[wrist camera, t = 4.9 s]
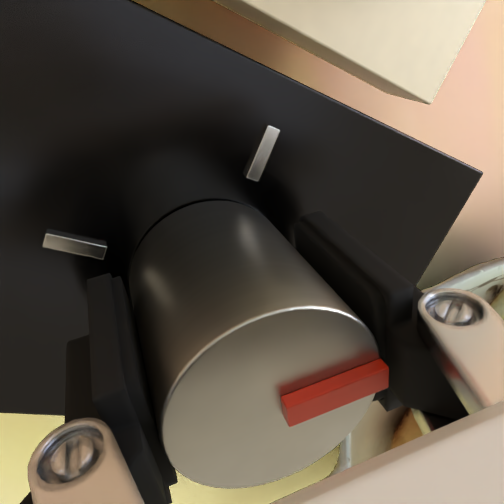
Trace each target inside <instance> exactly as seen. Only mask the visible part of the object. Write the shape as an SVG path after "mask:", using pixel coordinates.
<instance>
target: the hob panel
mask: <svg viewBox="0 0 504 504" xmlns="http://www.w3.org/2000/svg"><path fill="white" fill-rule="evenodd" d="M482 175H483V172H482V171H480V170H478V169H476V168H474V167H472V166H470V165H468V164H466V163H464V162H462V161H460V160H458V159H456V158H454V157H451V156H449V155H447V154H445V153H443V152H441V151H439V150H437V149H435V148H433V147H431V146H429V145H427V144H425V143H423V142H421V141H419V140H417V139H415V138H413V137H410V136H408V135H406V134H404V133H402V132H400V131H398V130H396V129H394V128H392V127H390V126H388V125H386V124H384V123H382V122H380V121H378V120H376V119H374V118H372V117H370V116H367V115H365V114H363V113H361V112H359V111H357V110H355V109H353V108H351V107H349V106H347V105H345V104H343V103H341V102H339V101H337V100H335V99H333V98H331V97H329V96H326V95H324V94H322V93H320V92H318V91H316V90H314V89H312V88H310V87H308V86H306V85H304V84H302V83H300V82H298V81H296V80H294V79H292V78H290V77H288V76H286V75H283V74H281V73H279V72H277V71H275V70H273V69H271V68H269V67H267V66H265V65H263V64H261V63H259V62H257V61H255V60H253V59H251V58H249V57H247V56H245V55H243V54H240V53H238V52H236V51H234V50H232V49H230V48H228V47H226V46H224V45H222V44H220V43H218V42H216V41H214V40H212V39H210V38H208V37H206V36H204V35H202V34H199V33H197V32H195V31H193V30H191V29H189V28H187V27H185V26H183V25H181V24H179V23H177V22H175V21H173V20H171V19H169V18H167V17H165V16H163V15H161V14H159V13H156V12H154V11H152V10H150V9H148V8H146V7H144V6H142V5H140V4H138V3H136V2H134V1H132V0H0V413H19V414H41V415H63V416H65V388H66V347H67V343H68V341H71V340H74V339H77V338H80V337H83V336H86V335H89V322H88V300H87V280H88V279H91V278H94V277H98V276H101V275H104V274H108V273H110V274H111V276H112V278H115V277H118V276H120V277H121V279H122V281H123V284H124V287H125V290H126V292H127V295H128V298H129V301H130V304H131V306H132V309H133V312H134V308H133V303H132V298H131V293H130V285H129V276H130V269H131V264H132V261H133V258H134V255H135V253H136V251H137V249H138V247H139V245H140V243H141V242H142V241H143V239H144V238H145V236H146V235H147V234H148V233H149V232H150V231H151V230H152V229H153V227H154V226H155V225H157V224H158V223H159V222H160V221H162V220H163V219H164V218H165V217H167V216H169V215H170V214H172V213H173V212H175V211H177V210H180V209H182V208H184V207H187V206H190V205H193V204H196V203H201V202H206V201H230V202H235V203H240V204H243V205H246V206H248V207H250V208H252V209H254V210H256V211H258V212H259V213H260V214H262V215H263V216H264V217H266V218H267V219H268V220H269V221H270V222H271V223H272V224H273V226H274V227H275V228H276V229H277V230H278V231H279V232H280V233H281V234H282V235H283V236H284V237H285V238H286V240H287V241H288V242H289V243H290V244H291V245H292V246H293V247H294V248H295V249H296V246H295V237H294V224H295V223H299V218H300V216H304V215H307V214H310V213H314V212H317V211H321V212H323V213H324V214H326V215H327V216H328V217H329V218H330V219H332V220H333V221H334V222H335V223H337V224H338V225H339V226H340V227H342V228H343V229H344V230H345V231H346V232H348V233H349V234H350V235H351V236H353V237H354V238H355V239H356V240H358V241H359V242H360V243H361V244H362V245H364V246H365V247H366V248H368V249H370V250H371V251H372V252H373V253H375V254H376V255H377V256H378V257H380V258H381V259H382V260H383V261H385V262H386V263H387V264H388V265H389V266H391V267H392V268H393V269H394V270H396V271H397V272H398V273H399V274H401V275H402V276H403V277H404V278H406V279H407V280H408V281H409V282H411V283H412V284H413V285H414V286H416V285H417V283H418V281H419V280H420V278H421V276H422V275H423V273H424V271H425V270H426V268H427V266H428V265H429V263H430V261H431V260H432V258H433V256H434V255H435V253H436V251H437V250H438V248H439V246H440V245H441V243H442V241H443V240H444V238H445V236H446V235H447V233H448V231H449V230H450V228H451V226H452V225H453V223H454V221H455V220H456V218H457V216H458V215H459V213H460V211H461V210H462V208H463V206H464V205H465V203H466V201H467V200H468V198H469V196H470V195H471V193H472V191H473V190H474V188H475V186H476V185H477V183H478V181H479V180H480V178H481V176H482ZM134 315H135V314H134Z"/></svg>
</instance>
